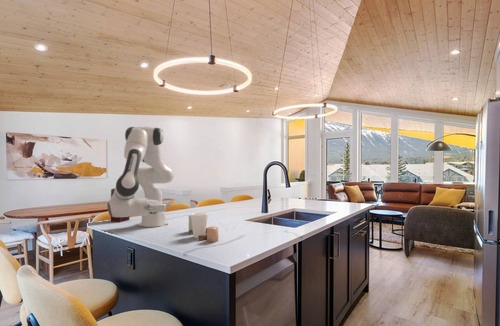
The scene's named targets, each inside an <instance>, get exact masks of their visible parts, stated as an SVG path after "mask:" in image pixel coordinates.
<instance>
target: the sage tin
mask: <svg viewBox="0 0 500 326" xmlns="http://www.w3.org/2000/svg"><path fill="white" fill-rule="evenodd" d="M192 229H193V228H192V220H191V214H189V215H188V231H189V230H192Z"/></svg>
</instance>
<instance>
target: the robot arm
mask: <svg viewBox="0 0 500 326" xmlns="http://www.w3.org/2000/svg"><path fill="white" fill-rule="evenodd" d="M164 134H165V133H164V131H163V130H162V128H159V127H151V126H129V127H128V128H127V129H126V130H125V134H124V138H125V145H124V152H123V157H124V158H125V159H126V160H125V164H124V165H125V166H124V170H123V172H122V174H121V175H120V176H119V178H118V179H117V180H116V182H115V188H114V189H115V191H114V193H113V195H112V197H111V196H110V199H109V200H108V201H107V205H106V206H107V211H108V212H107V213H108V214H109V216H110V217H111V216H112V217H129V218H130V217H131V216H134V217H141V221H140V223H138V226H140V227H145V228H157V227H162V226H166V225H169V223H168V221H166V211H167V209H166V208H171V206H172V204H171V203H169V202H163V192H162V190H160V189H159V188H156V187H155V186H154V184H168V183H171V182H172V181H173V180H174V176H175V174H174V171H173V170H172V168H170V167H169V166H167V165H166V164H165V163H164V161H163V158H162V154H161V144H162V143H163V142H164V140H165V138H164V137H165V135H164ZM142 161H143V162H144V163H145V164H146V165H148V166H145V167H140V163H141V162H142ZM139 186H140V187H142V190H143V193H144V197H141V198H140V197H139V198H137V197H135V194H136V193H137V191H138V190H139Z"/></svg>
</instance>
